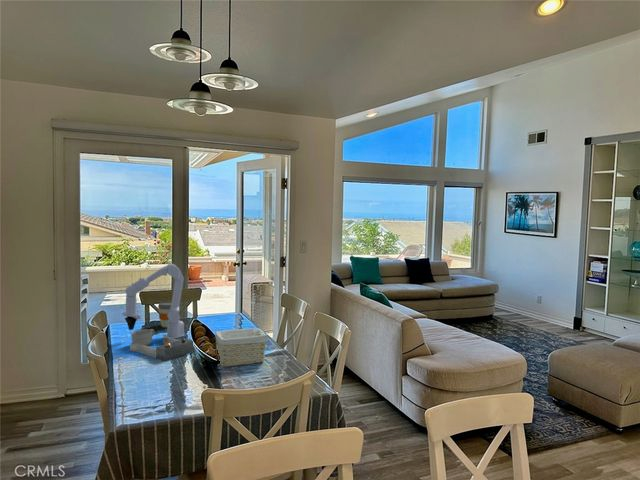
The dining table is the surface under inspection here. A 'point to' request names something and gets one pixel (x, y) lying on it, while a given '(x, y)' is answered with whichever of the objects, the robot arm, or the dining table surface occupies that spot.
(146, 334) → the teacup
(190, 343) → the motor block
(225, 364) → the storage basket
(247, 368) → the dining table surface
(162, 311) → the reusable coffee cup
